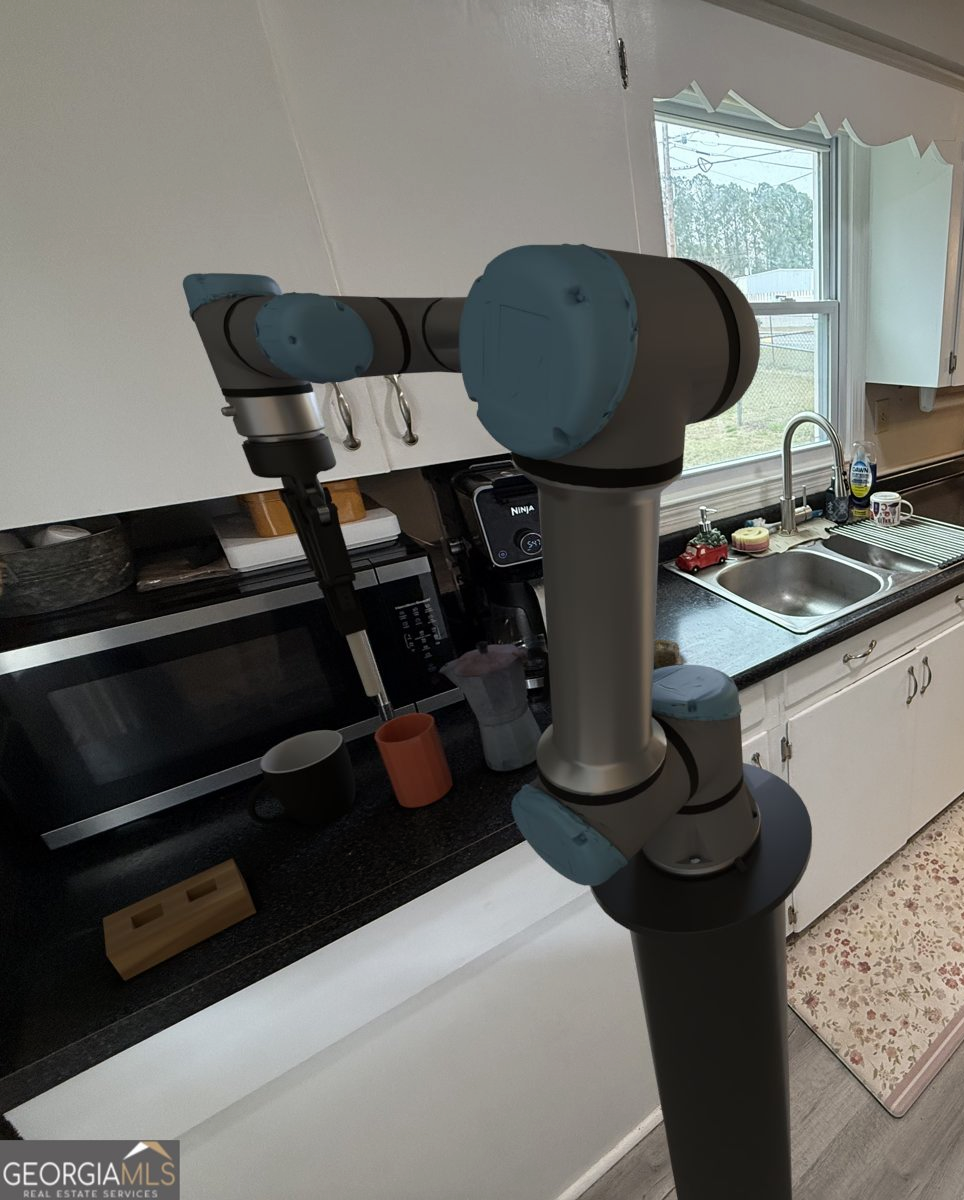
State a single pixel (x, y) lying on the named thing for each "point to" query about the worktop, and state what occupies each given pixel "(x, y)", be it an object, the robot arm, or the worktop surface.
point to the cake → (666, 654)
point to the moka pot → (501, 700)
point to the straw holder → (176, 919)
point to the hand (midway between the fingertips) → (351, 628)
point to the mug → (307, 778)
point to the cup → (414, 759)
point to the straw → (363, 663)
